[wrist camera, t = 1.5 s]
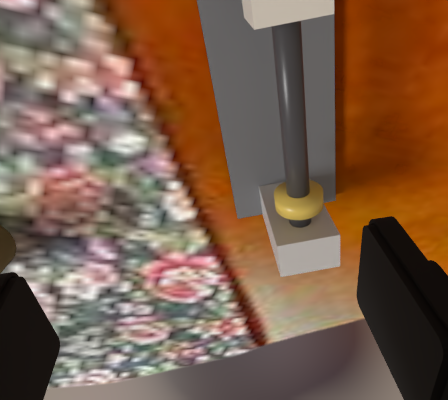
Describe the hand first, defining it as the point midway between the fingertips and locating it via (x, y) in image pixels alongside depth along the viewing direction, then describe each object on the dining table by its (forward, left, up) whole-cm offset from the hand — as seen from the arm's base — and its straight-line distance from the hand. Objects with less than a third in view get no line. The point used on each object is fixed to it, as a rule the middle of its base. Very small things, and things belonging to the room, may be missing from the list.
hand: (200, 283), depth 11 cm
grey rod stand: (+1, +6, -21) cm, 22 cm away
